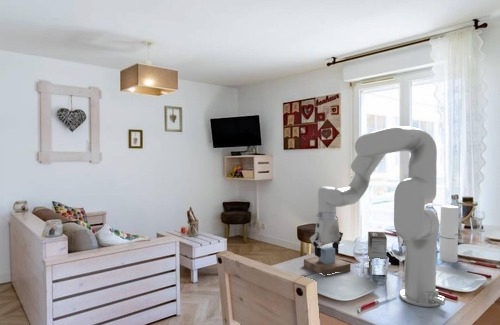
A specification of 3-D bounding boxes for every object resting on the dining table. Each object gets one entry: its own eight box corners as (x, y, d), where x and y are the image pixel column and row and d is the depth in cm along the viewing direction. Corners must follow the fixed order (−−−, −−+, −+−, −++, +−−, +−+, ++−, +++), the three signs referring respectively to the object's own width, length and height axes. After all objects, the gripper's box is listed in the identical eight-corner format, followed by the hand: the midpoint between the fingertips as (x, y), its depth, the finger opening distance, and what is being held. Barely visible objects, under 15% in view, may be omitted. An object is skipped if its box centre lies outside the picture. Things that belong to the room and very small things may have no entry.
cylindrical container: (461, 261, 154) (462, 207, 153) (449, 263, 152) (451, 208, 150) (446, 256, 161) (448, 204, 160) (435, 258, 158) (437, 205, 157)
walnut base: (350, 270, 143) (350, 263, 143) (324, 276, 137) (324, 269, 137) (328, 260, 156) (328, 254, 155) (303, 265, 149) (303, 259, 149)
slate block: (335, 262, 145) (335, 248, 145) (326, 264, 143) (326, 250, 142) (327, 258, 149) (327, 245, 149) (318, 260, 147) (318, 247, 147)
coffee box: (367, 267, 147) (367, 231, 146) (382, 268, 146) (383, 231, 145) (370, 275, 138) (370, 236, 137) (386, 276, 137) (387, 237, 136)
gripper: (316, 219, 138) (316, 260, 139) (348, 214, 146) (347, 253, 146) (305, 215, 144) (305, 255, 145) (336, 211, 152) (336, 249, 153)
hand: (326, 254), depth 146 cm, fingers open, 9 cm apart
